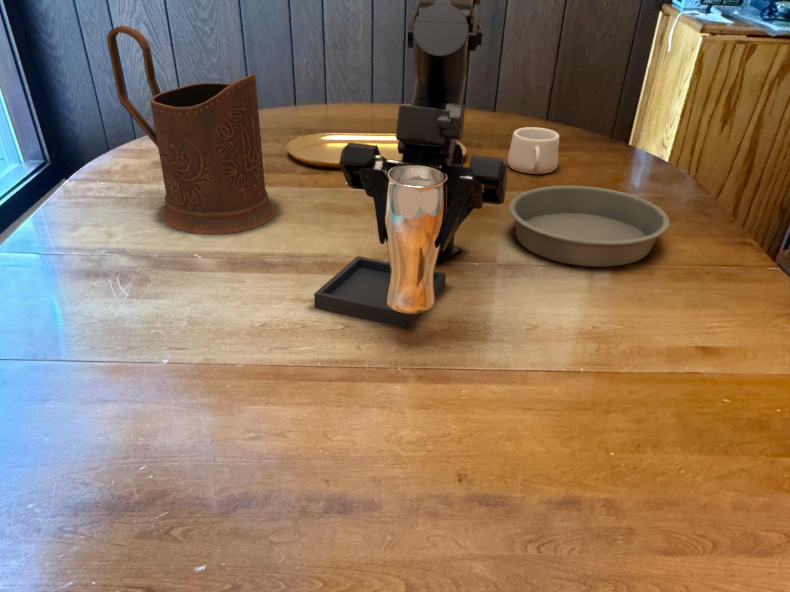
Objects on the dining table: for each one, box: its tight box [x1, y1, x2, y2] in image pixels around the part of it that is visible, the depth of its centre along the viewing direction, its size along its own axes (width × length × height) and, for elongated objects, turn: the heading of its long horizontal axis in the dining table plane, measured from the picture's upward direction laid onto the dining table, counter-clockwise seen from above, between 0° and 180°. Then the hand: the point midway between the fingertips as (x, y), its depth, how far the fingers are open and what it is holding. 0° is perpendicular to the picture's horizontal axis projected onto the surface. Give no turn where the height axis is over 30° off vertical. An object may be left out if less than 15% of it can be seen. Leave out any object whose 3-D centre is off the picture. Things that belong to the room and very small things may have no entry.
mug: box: [507, 126, 560, 175], centre depth 147 cm, size 12×10×6 cm
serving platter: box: [286, 132, 467, 169], centre depth 151 cm, size 19×35×2 cm, turn 93°
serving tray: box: [313, 255, 447, 329], centre depth 105 cm, size 14×14×2 cm
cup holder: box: [106, 25, 276, 235], centre depth 120 cm, size 18×24×25 cm
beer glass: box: [384, 164, 447, 314], centre depth 89 cm, size 7×7×15 cm
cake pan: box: [508, 185, 670, 268], centre depth 122 cm, size 25×25×4 cm
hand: (411, 246), depth 88 cm, fingers closed on beer glass, 7 cm apart
